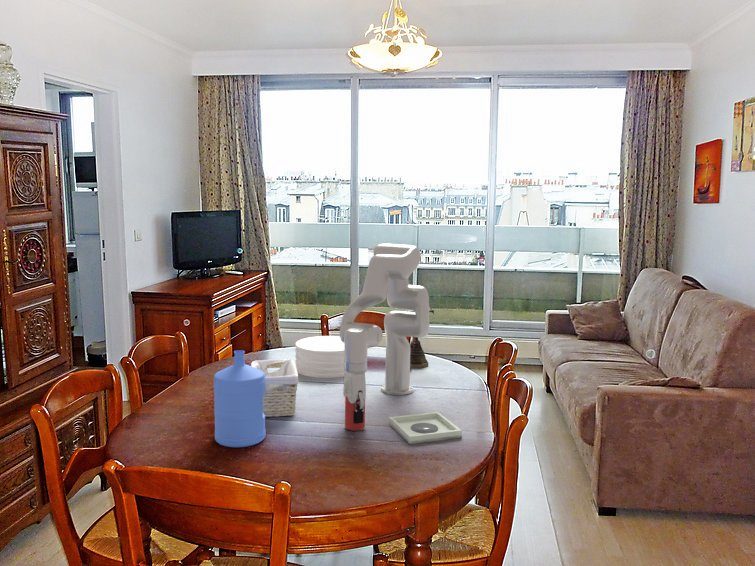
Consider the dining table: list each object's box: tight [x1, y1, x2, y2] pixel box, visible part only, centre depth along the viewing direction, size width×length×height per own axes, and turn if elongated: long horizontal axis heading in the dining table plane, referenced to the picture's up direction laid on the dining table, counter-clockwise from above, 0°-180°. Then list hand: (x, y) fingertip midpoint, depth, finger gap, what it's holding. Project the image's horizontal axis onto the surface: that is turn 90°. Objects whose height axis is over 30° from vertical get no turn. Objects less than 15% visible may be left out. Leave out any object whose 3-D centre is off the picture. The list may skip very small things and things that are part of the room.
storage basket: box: [250, 358, 299, 418], centre depth 231 cm, size 24×16×15 cm
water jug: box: [213, 349, 267, 448], centre depth 201 cm, size 16×16×28 cm
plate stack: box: [294, 335, 345, 379], centre depth 282 cm, size 28×28×12 cm
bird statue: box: [407, 303, 435, 369], centre depth 286 cm, size 17×13×35 cm
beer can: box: [344, 396, 366, 432], centre depth 212 cm, size 7×7×12 cm
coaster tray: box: [388, 411, 463, 445], centre depth 212 cm, size 18×18×2 cm
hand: (354, 418), depth 213 cm, fingers closed on beer can, 6 cm apart
